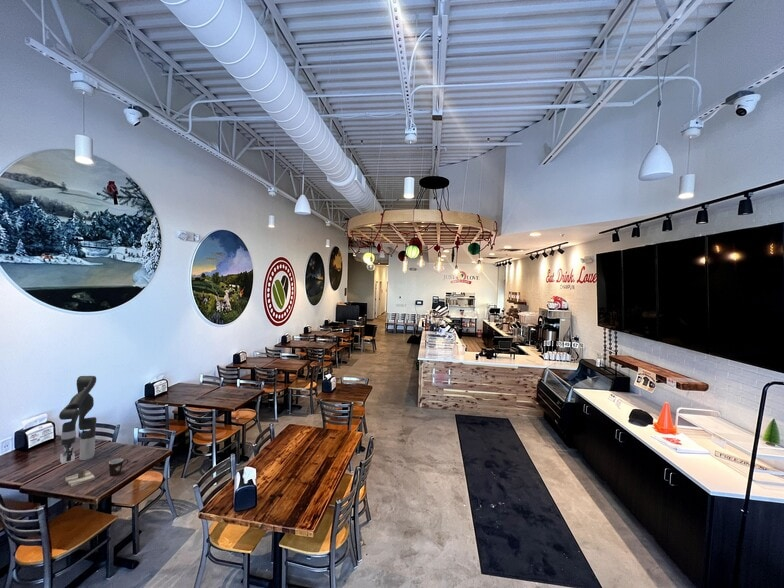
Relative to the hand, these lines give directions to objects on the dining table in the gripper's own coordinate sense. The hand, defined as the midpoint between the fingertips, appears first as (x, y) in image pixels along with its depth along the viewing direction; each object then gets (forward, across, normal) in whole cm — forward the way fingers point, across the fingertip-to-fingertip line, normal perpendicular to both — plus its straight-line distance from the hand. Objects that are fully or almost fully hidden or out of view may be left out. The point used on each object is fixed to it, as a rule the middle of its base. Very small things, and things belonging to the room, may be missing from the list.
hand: (67, 459), depth 238 cm
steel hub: (+1, 0, 0) cm, 1 cm away
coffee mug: (+17, -13, -26) cm, 34 cm away
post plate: (+17, -2, -7) cm, 19 cm away
